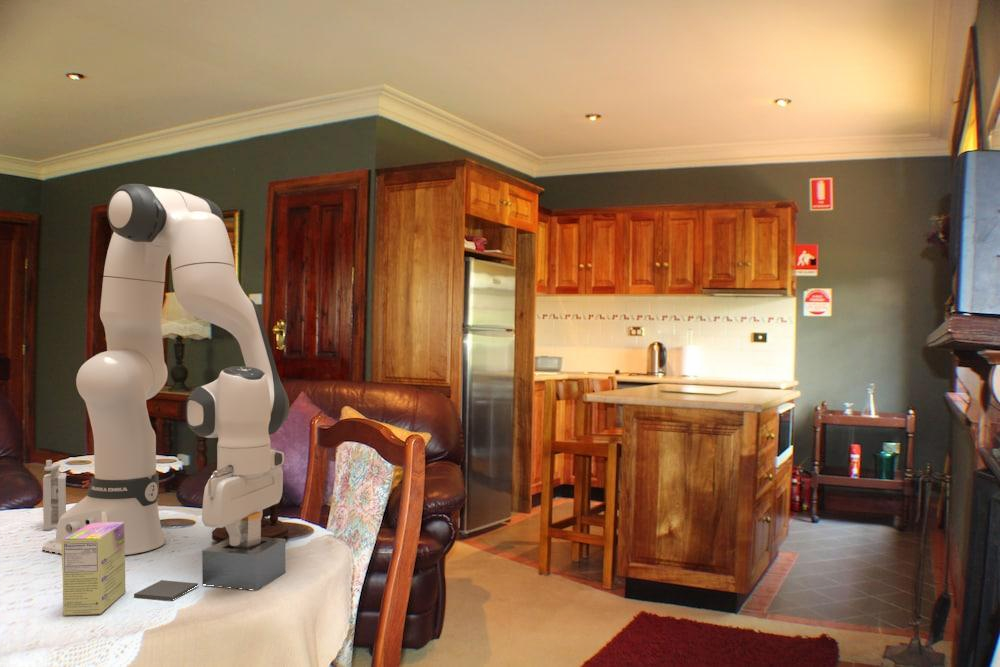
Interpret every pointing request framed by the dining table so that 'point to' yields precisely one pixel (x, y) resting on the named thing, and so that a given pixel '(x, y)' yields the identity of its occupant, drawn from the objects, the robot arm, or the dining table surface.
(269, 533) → the scroll
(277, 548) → the square frame
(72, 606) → the box
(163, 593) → the mat
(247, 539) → the orange tipped grey block
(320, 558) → the dining table surface
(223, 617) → the dining table surface
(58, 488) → the white pump bottle
